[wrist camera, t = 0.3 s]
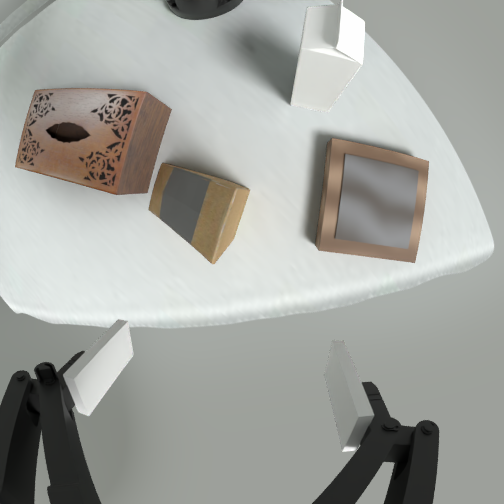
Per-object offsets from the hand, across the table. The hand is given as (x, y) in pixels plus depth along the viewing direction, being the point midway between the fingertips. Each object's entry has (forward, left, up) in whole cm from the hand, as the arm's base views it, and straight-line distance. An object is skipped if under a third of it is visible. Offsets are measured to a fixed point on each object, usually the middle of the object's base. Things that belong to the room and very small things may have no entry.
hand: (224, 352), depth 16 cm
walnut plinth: (-10, +17, -28) cm, 34 cm away
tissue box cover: (-17, -30, -28) cm, 45 cm away
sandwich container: (-7, -10, -28) cm, 31 cm away
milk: (-26, +6, -28) cm, 39 cm away
